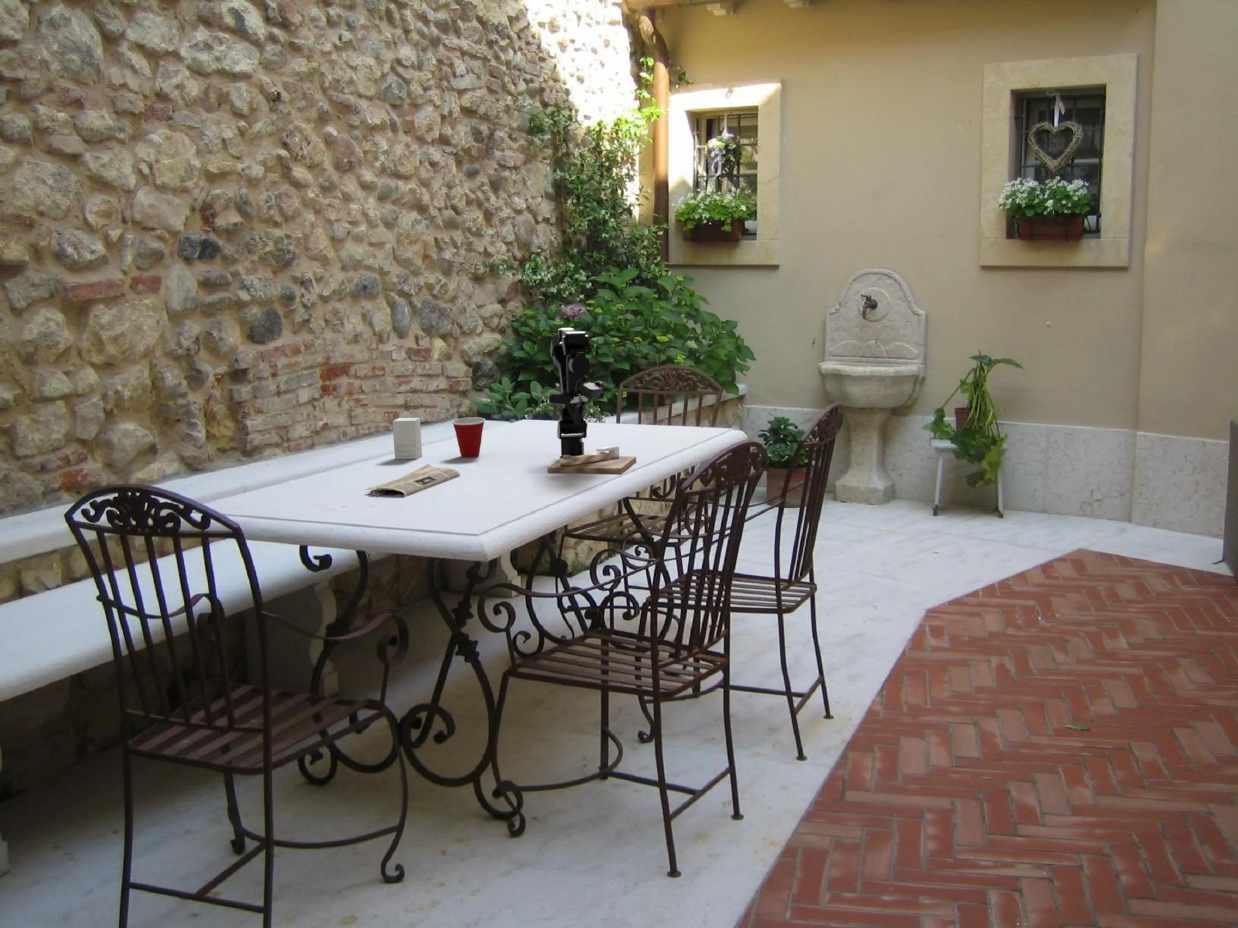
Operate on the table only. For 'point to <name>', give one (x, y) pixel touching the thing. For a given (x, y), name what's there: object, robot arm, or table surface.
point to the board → (595, 466)
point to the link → (583, 458)
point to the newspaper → (416, 481)
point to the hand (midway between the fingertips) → (577, 424)
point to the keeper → (611, 451)
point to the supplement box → (407, 438)
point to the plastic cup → (469, 435)
